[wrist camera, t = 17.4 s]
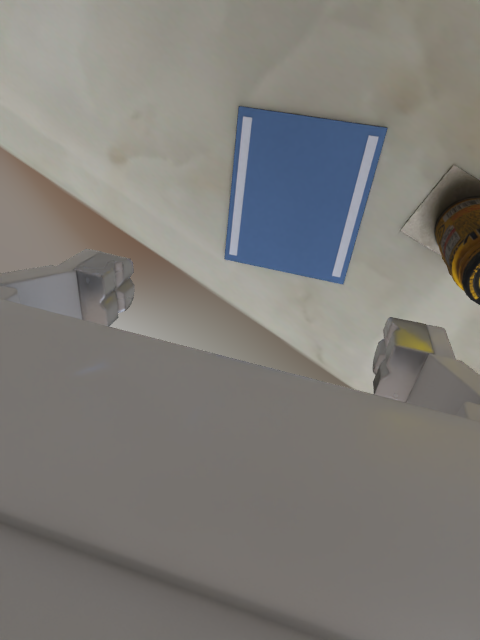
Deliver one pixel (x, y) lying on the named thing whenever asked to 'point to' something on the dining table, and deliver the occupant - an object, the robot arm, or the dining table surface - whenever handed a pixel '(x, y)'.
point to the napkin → (299, 191)
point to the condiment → (452, 227)
